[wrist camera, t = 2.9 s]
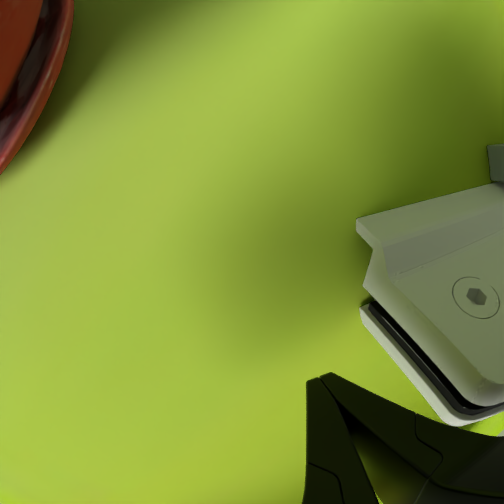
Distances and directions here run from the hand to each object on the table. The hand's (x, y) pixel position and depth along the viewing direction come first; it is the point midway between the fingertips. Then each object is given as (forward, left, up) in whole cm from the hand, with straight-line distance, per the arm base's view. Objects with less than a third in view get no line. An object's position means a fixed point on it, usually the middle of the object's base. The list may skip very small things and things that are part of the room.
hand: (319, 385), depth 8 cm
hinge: (0, -12, -4) cm, 13 cm away
